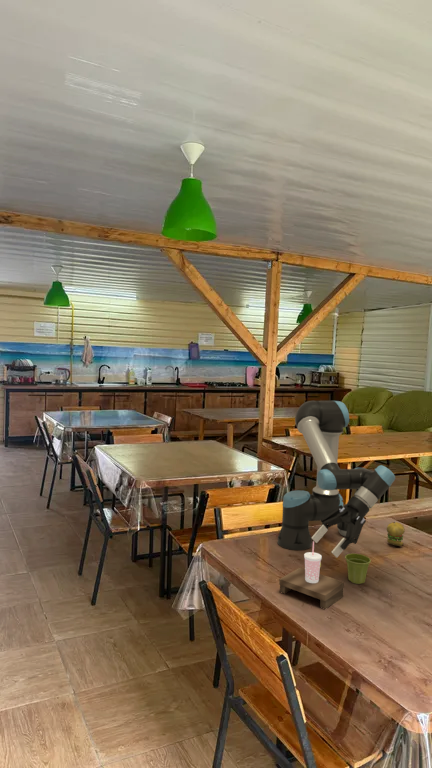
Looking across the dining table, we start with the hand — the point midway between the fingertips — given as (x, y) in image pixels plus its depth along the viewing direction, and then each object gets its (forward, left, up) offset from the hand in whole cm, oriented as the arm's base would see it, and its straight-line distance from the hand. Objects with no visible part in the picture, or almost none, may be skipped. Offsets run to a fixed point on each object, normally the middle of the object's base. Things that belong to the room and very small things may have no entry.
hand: (323, 547), depth 181 cm
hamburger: (+2, +65, -17) cm, 67 cm away
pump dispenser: (-20, +63, -17) cm, 69 cm away
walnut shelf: (-2, -3, -17) cm, 17 cm away
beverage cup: (-3, -3, -12) cm, 12 cm away
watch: (-12, +16, -17) cm, 27 cm away
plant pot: (+5, +19, -17) cm, 26 cm away
